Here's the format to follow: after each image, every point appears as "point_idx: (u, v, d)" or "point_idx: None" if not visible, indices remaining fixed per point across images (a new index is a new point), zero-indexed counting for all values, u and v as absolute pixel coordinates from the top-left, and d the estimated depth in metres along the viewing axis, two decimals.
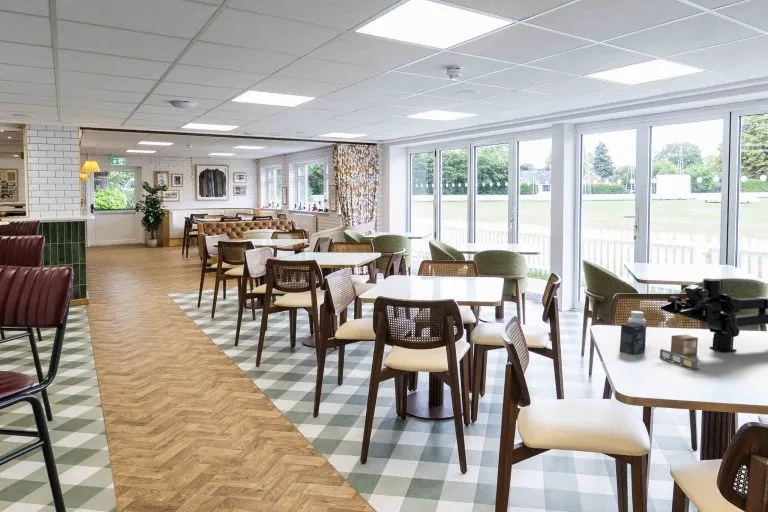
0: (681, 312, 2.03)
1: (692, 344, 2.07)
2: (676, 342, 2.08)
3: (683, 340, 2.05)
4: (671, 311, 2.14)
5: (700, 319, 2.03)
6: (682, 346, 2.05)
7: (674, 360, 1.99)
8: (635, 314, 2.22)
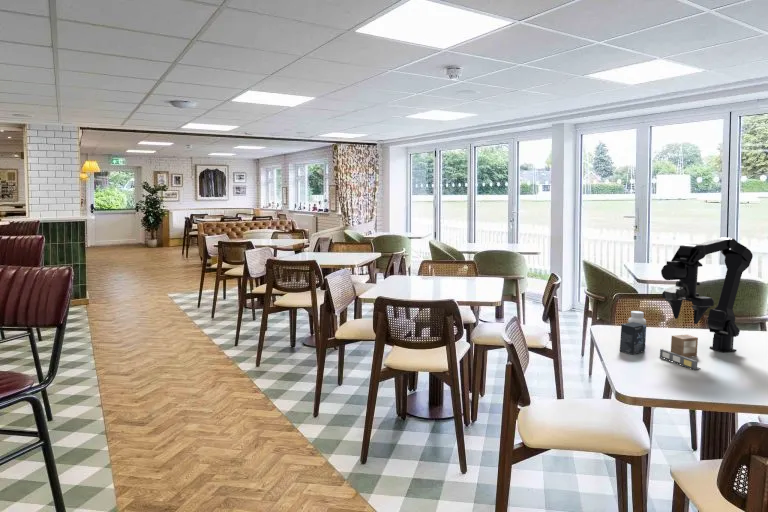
0: (695, 322, 2.03)
1: (692, 344, 2.07)
2: (676, 342, 2.08)
3: (683, 340, 2.05)
4: (680, 304, 2.12)
5: None
6: (682, 346, 2.05)
7: (674, 360, 1.99)
8: (635, 314, 2.22)
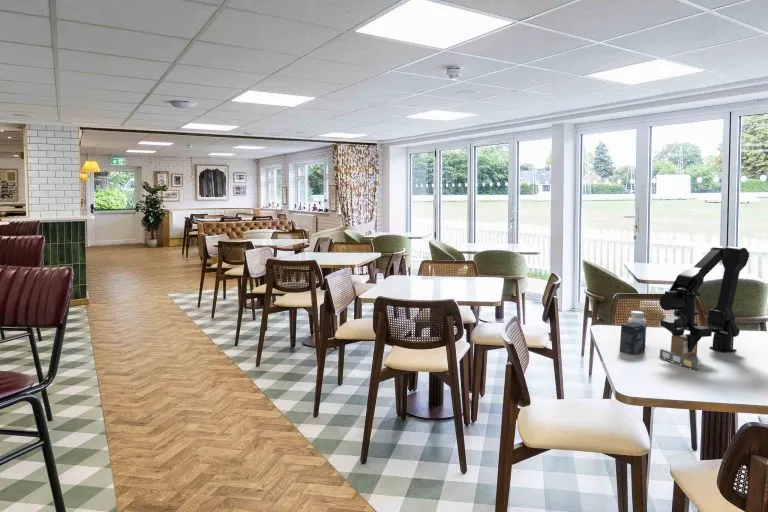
0: (690, 351, 2.06)
1: None
2: (676, 342, 2.08)
3: (683, 340, 2.05)
4: (682, 334, 2.12)
5: None
6: (682, 346, 2.05)
7: (674, 360, 1.99)
8: (635, 314, 2.22)
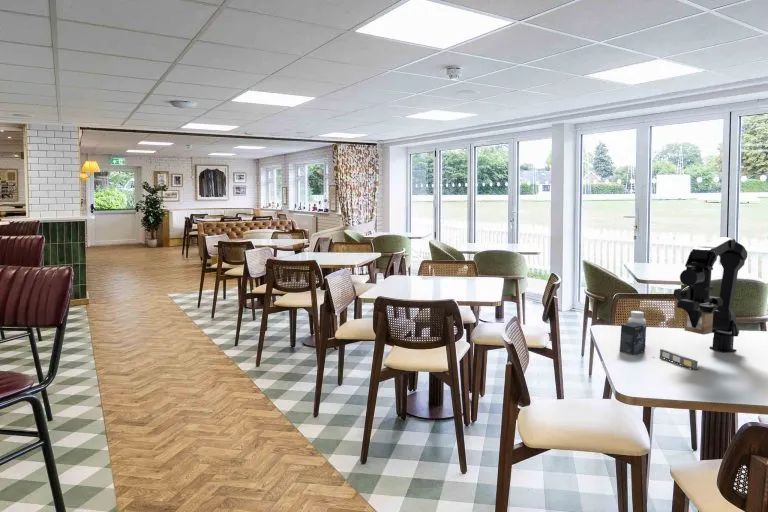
0: (692, 326, 2.01)
1: None
2: None
3: (687, 313, 2.03)
4: (709, 312, 2.02)
5: (696, 311, 1.97)
6: (686, 319, 2.03)
7: (674, 360, 1.99)
8: (635, 314, 2.22)
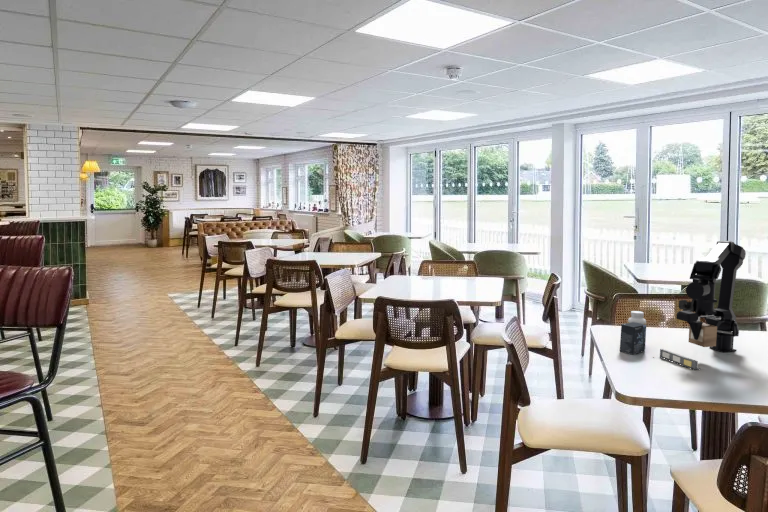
0: (694, 338, 2.00)
1: None
2: None
3: None
4: (714, 325, 1.99)
5: None
6: (689, 330, 2.03)
7: (674, 360, 1.99)
8: (635, 314, 2.22)
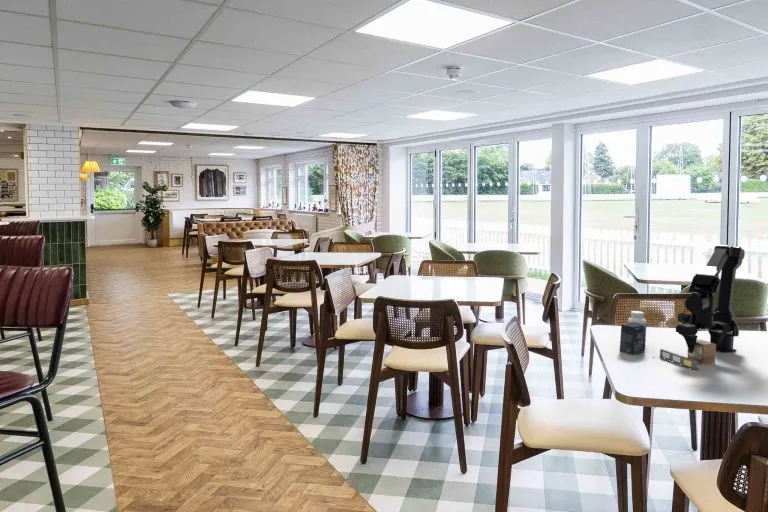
0: (689, 351, 2.00)
1: (698, 350, 1.99)
2: None
3: None
4: (717, 338, 2.00)
5: None
6: None
7: (674, 360, 1.99)
8: (635, 314, 2.22)
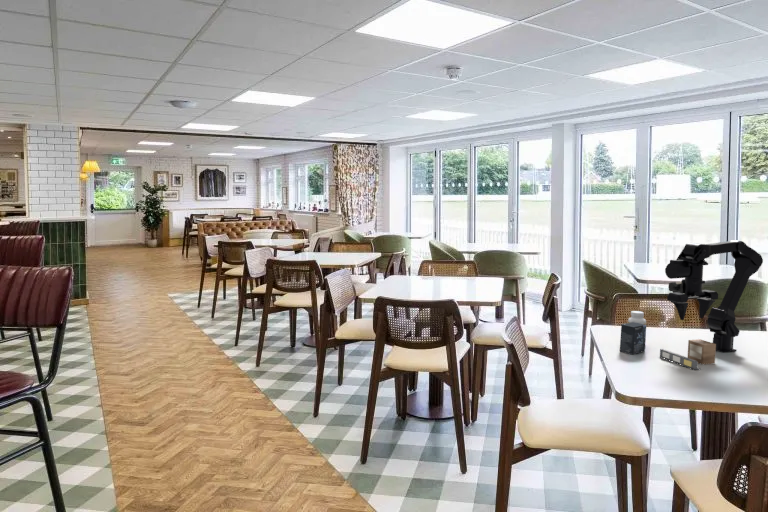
0: (680, 318, 2.10)
1: (698, 350, 1.99)
2: None
3: (689, 342, 2.03)
4: (706, 305, 2.11)
5: None
6: (688, 347, 2.03)
7: (674, 360, 1.99)
8: (635, 314, 2.22)
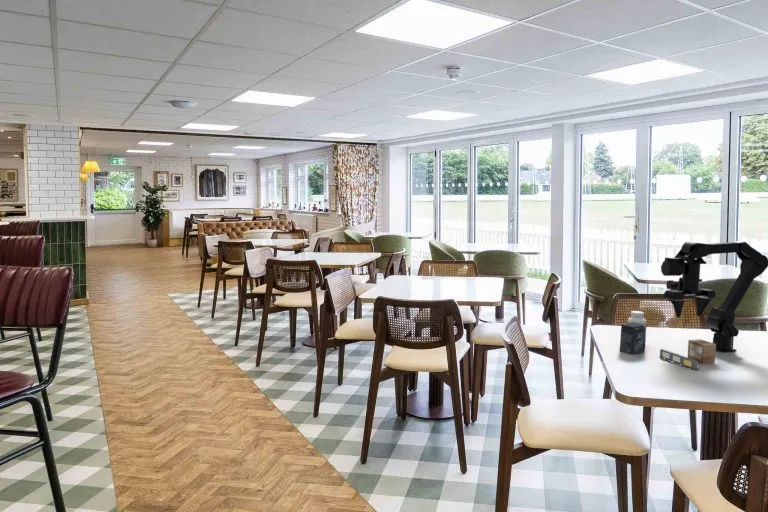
0: (677, 316, 2.13)
1: (698, 350, 1.99)
2: None
3: (689, 342, 2.03)
4: (703, 303, 2.13)
5: (677, 301, 2.09)
6: (688, 347, 2.03)
7: (674, 360, 1.99)
8: (635, 314, 2.22)
